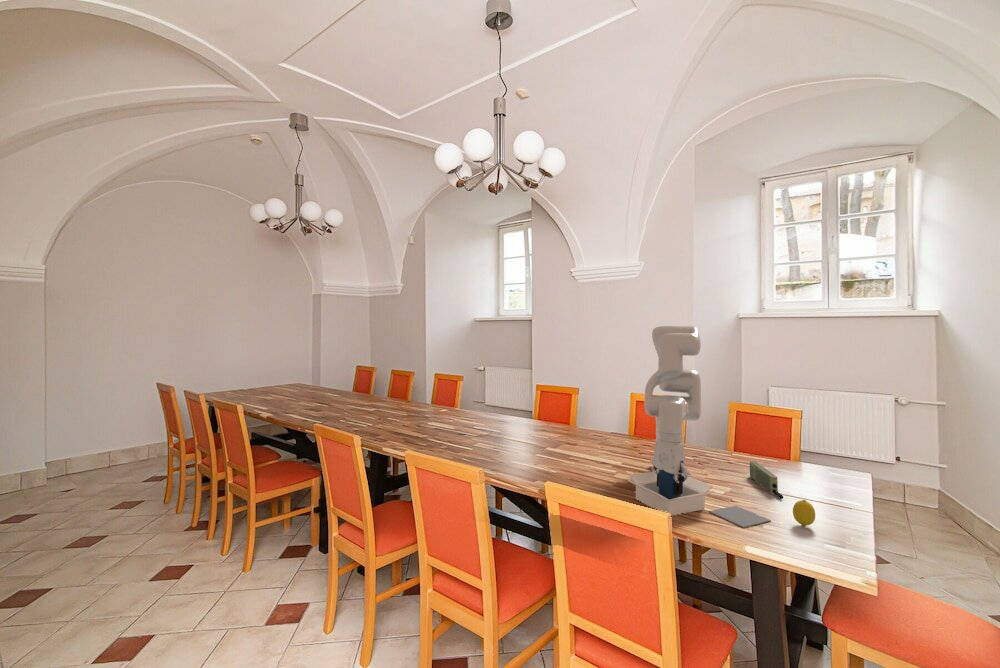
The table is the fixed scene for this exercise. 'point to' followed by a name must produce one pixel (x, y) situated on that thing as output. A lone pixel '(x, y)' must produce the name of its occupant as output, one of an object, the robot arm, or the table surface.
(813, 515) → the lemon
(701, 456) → the table surface
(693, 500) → the carton
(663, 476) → the soda can
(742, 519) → the mat
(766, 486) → the handheld radio
